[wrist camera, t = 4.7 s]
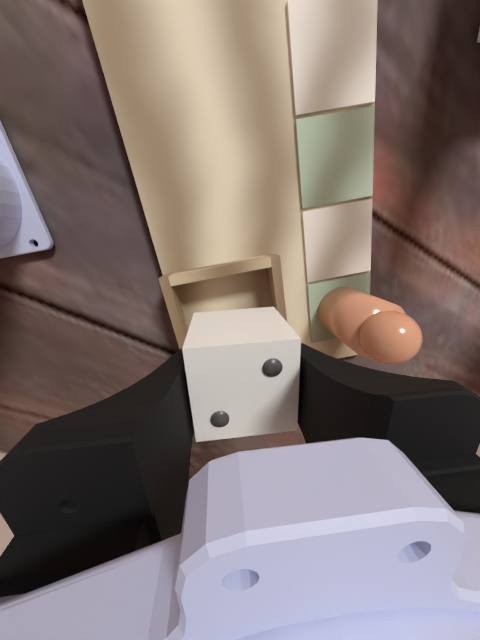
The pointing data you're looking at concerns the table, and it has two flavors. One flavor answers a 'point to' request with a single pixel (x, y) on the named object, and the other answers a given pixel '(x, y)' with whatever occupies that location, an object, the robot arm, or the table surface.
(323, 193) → the game board
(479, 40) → the figurine
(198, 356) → the die
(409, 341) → the pawn
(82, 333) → the table surface
